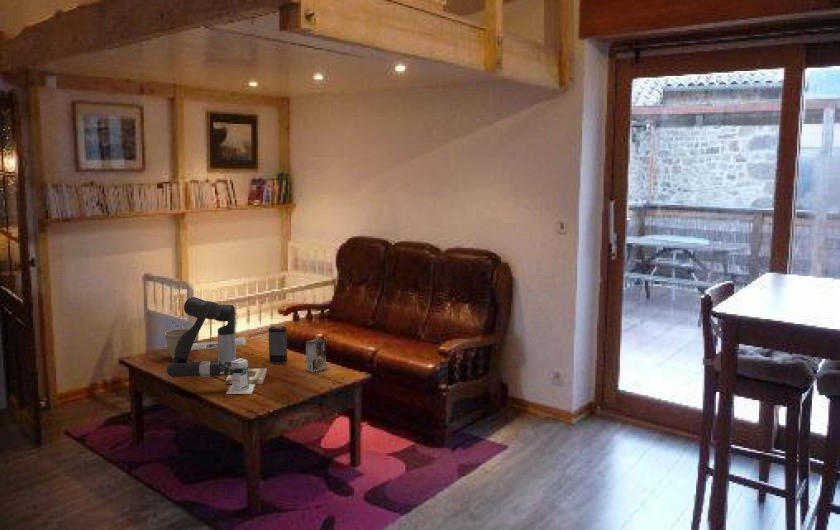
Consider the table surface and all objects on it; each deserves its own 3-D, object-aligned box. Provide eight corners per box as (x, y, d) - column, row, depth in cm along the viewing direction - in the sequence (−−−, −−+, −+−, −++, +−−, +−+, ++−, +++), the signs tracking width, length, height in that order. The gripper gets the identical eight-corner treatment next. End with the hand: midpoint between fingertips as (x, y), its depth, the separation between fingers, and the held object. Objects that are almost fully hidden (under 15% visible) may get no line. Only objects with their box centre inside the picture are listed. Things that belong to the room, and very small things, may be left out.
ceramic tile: (226, 395, 322) (226, 393, 322) (230, 386, 334) (230, 384, 333) (251, 394, 323) (251, 392, 323) (255, 386, 335) (255, 384, 335)
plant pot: (161, 362, 372) (159, 335, 369) (174, 355, 386) (172, 328, 384) (186, 363, 370) (185, 336, 367) (198, 356, 385) (197, 329, 382)
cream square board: (225, 384, 336) (225, 380, 336) (232, 373, 354) (232, 369, 354) (262, 384, 338) (261, 379, 338) (266, 372, 356) (266, 368, 355)
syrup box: (240, 391, 324) (239, 362, 322) (232, 389, 327) (231, 360, 325) (249, 388, 329) (248, 359, 327) (240, 385, 332) (239, 357, 330)
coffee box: (319, 366, 367) (319, 338, 365) (326, 369, 363) (326, 340, 360) (305, 369, 361) (305, 341, 359) (312, 372, 357) (312, 343, 354)
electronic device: (287, 360, 377) (287, 326, 374) (284, 363, 371) (284, 329, 368) (272, 360, 378) (271, 325, 375) (268, 363, 372) (267, 328, 369)
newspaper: (187, 352, 394) (186, 346, 393) (185, 346, 405) (185, 341, 404) (247, 346, 407) (247, 340, 407) (244, 341, 419) (244, 335, 418)
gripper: (206, 365, 317) (241, 365, 319) (213, 357, 331) (246, 356, 333) (207, 380, 319) (242, 380, 320) (213, 371, 333) (246, 370, 334)
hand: (244, 368), depth 327 cm, fingers open, 8 cm apart
